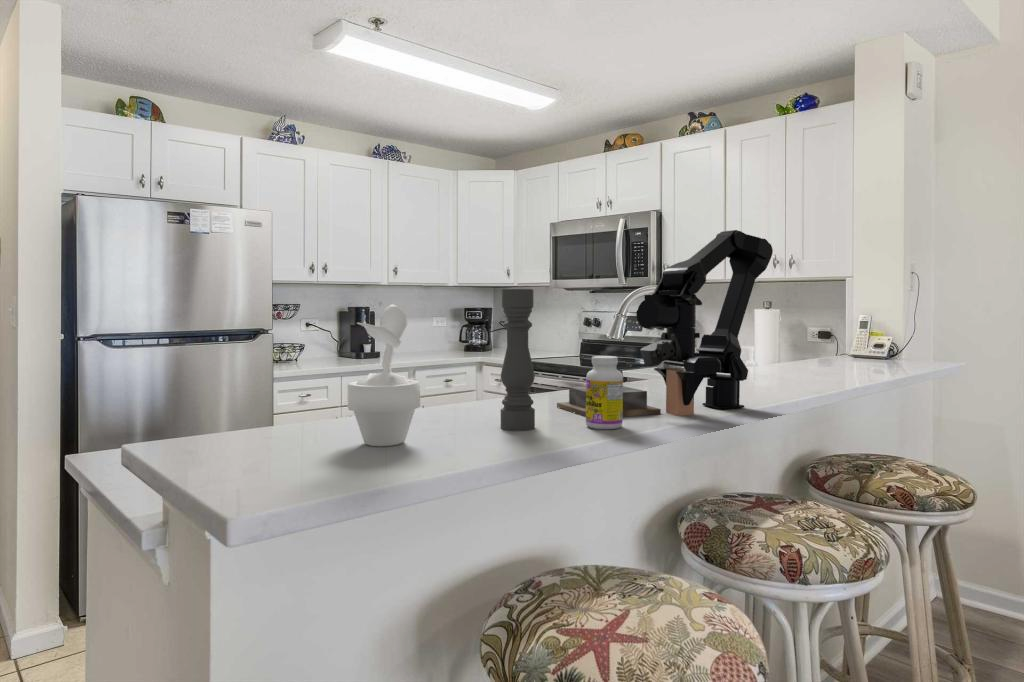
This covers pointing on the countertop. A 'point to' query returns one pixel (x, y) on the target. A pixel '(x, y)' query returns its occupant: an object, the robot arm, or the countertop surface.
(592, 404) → the supplement bottle
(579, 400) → the socket
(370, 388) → the potted plant
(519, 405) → the candle holder
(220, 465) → the countertop surface
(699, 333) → the robot arm
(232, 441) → the countertop surface
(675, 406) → the peg
